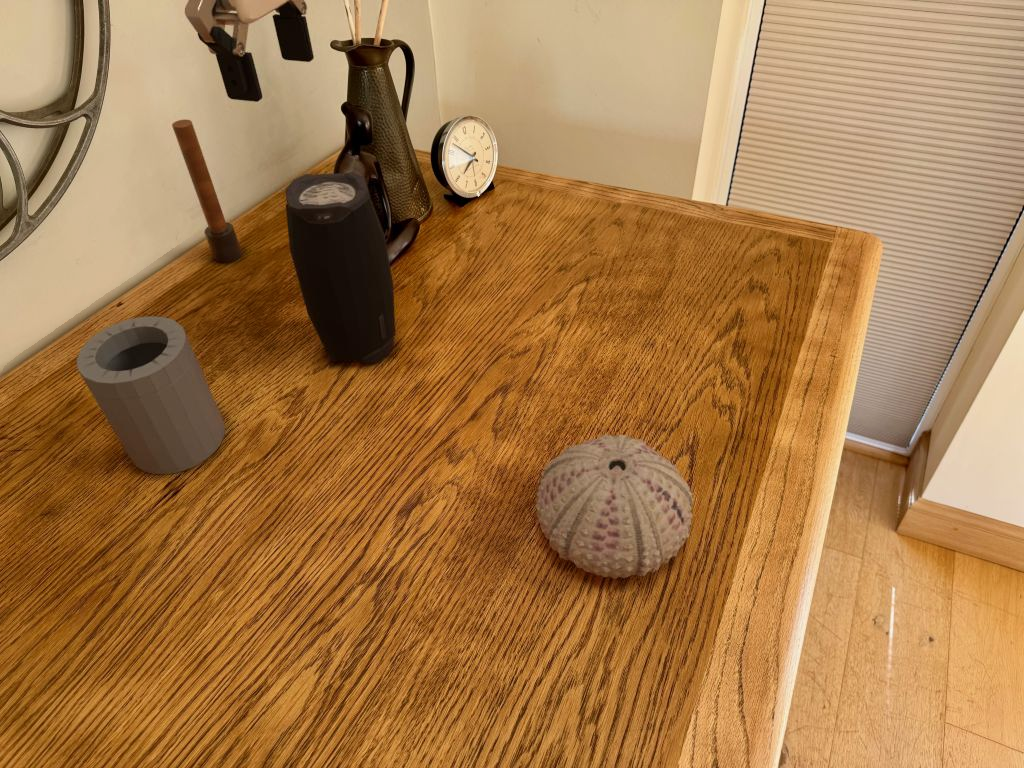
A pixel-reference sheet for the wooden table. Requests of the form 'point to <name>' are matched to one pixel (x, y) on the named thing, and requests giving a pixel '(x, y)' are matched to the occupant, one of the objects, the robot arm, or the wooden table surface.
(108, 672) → the wooden table surface
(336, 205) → the portable speaker
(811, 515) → the wooden table surface
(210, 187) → the brown pestle
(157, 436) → the hollow cylinder
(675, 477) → the sea urchin shell
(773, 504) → the wooden table surface
